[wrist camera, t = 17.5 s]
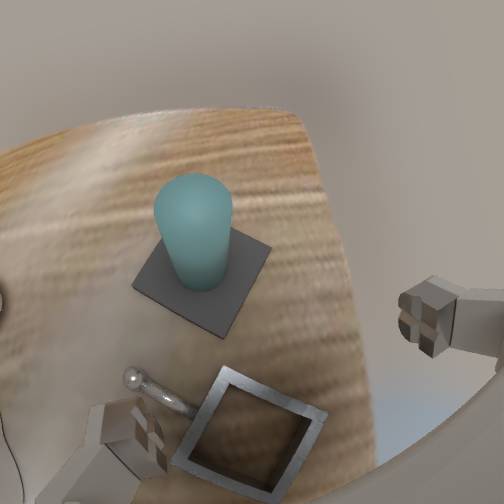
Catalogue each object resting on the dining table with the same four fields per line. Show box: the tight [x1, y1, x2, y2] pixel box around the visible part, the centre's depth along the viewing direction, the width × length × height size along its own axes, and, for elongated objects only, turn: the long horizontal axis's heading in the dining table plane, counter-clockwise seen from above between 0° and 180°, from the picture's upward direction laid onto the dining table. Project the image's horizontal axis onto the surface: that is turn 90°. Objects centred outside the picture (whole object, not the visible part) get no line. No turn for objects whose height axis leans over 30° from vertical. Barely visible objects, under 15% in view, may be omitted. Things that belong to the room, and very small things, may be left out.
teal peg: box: [154, 174, 232, 292], centre depth 21 cm, size 4×4×10 cm
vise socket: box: [123, 365, 329, 504], centre depth 20 cm, size 16×9×2 cm, turn 63°
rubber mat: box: [131, 227, 272, 339], centre depth 26 cm, size 9×9×1 cm
